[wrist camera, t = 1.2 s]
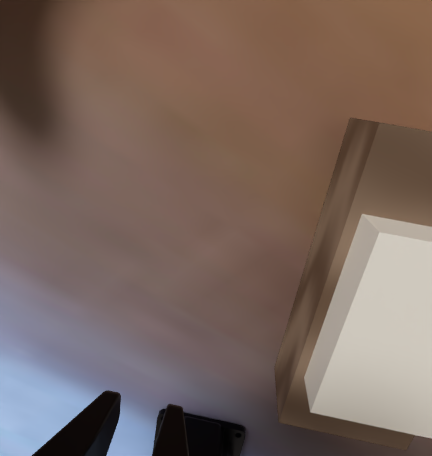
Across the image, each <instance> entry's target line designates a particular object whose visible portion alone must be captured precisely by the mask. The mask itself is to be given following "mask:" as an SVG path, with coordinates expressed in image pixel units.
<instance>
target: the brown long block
mask: <svg viewBox="0 0 432 456" xmlns="http://www.w3.org/2000/svg"><path fill="white" fill-rule="evenodd" d="M362 214H365V215H371V216H376V217H381V218H387V219H392V220H397V221H403V222H408V223H413V224H419V225H424V226H429V227H432V132H430V131H425V130H419V129H413V128H408V127H402V126H396V125H390V124H385V123H379V122H373V121H367V120H361V119H355V118H350V119H349V123H348V126H347V129H346V133H345V136H344V139H343V143H342V146H341V149H340V153H339V156H338V159H337V162H336V166H335V169H334V172H333V176H332V179H331V182H330V186H329V189H328V192H327V196H326V199H325V202H324V205H323V209H322V212H321V215H320V219H319V222H318V225H317V229H316V232H315V235H314V239H313V242H312V245H311V248H310V252H309V255H308V258H307V262H306V265H305V268H304V272H303V275H302V278H301V282H300V285H299V288H298V291H297V295H296V298H295V301H294V305H293V308H292V311H291V315H290V318H289V321H288V325H287V328H286V331H285V334H284V338H283V341H282V344H281V348H280V351H279V354H278V358H277V361H276V364H275V381H276V395H277V409H278V422H279V423H283V424H287V425H292V426H296V427H301V428H305V429H310V430H315V431H319V432H324V433H328V434H333V435H337V436H342V437H347V438H351V439H356V440H360V441H365V442H370V443H374V444H379V445H383V446H388V447H392V448H397V449H402V450H407V448H408V447H409V445H410V443H411V441H412V440H413V438H414V436H415V435H413V434H408V433H404V432H399V431H394V430H390V429H385V428H380V427H376V426H371V425H367V424H362V423H357V422H353V421H348V420H343V419H339V418H334V417H329V416H325V415H320V414H316V413H311V412H310V408H309V402H308V397H307V391H306V385H305V380H304V376H305V374H306V371H307V368H308V365H309V362H310V359H311V357H312V354H313V351H314V348H315V345H316V343H317V340H318V337H319V334H320V331H321V328H322V326H323V323H324V320H325V317H326V314H327V311H328V309H329V306H330V303H331V300H332V297H333V294H334V292H335V289H336V286H337V283H338V280H339V277H340V275H341V272H342V269H343V266H344V263H345V260H346V258H347V255H348V252H349V249H350V246H351V243H352V241H353V238H354V235H355V232H356V229H357V226H358V224H359V221H360V218H361V215H362Z"/></svg>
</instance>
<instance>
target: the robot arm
mask: <svg viewBox="0 0 432 456" xmlns="http://www.w3.org/2000/svg"><path fill="white" fill-rule="evenodd" d="M120 402H121V395H120V393H118V392H113V391H105V392H103V393H102V394H101V395H100V396H99V397H97V398H96V399H95V400H94V401H93V402H92V403H91V404H90V405H88V406H87V407H86V408H85V409H84V410H83V411H82V412H81V413H79V414H78V415H77V416H76V417H75V418H74V419H73V420H71V421H70V422H69V423H68V424H67V425H66V426H65V427H64V428H62V429H61V430H60V431H59V432H58V433H57V434H56V435H55V436H53V437H52V438H51V439H50V440H49V441H48V442H47V443H46V444H44V445H43V446H42V447H41V448H40V449H39V450H38V451H36V452H35V453H34V454H33V455H32V456H106V455H107V452H108V449H109V446H110V443H111V440H112V438H113V435H114V432H115V429H116V426H117V423H118V420H119V415H120ZM244 439H245V428H244V427H242V426H240V425H236V424H231V423H227V422H222V421H218V420H213V419H208V418H204V417H199V416H195V415H190V414H186V413H183V408H182V407H181V406H177V405H173V404H169V405H168V406H167V408H166V409H162V410H160V411H159V414H158V418H157V425H156V433H155V440H154V448H153V454H152V456H240V453H241V449H242V446H243V442H244Z"/></svg>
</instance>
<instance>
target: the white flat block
mask: <svg viewBox="0 0 432 456" xmlns="http://www.w3.org/2000/svg"><path fill="white" fill-rule="evenodd" d="M304 380H305V385H306V391H307V397H308V402H309V408H310V412H311V413H316V414H320V415H325V416H329V417H334V418H339V419H343V420H348V421H353V422H357V423H362V424H367V425H371V426H376V427H380V428H385V429H390V430H394V431H399V432H404V433H408V434H413V435H417V436H422V437H427V438H431V439H432V227H429V226H424V225H419V224H413V223H408V222H403V221H397V220H392V219H387V218H381V217H376V216H371V215H365V214H362V215H361V218H360V221H359V224H358V226H357V229H356V232H355V235H354V238H353V241H352V243H351V246H350V249H349V252H348V255H347V258H346V260H345V263H344V266H343V269H342V272H341V275H340V277H339V280H338V283H337V286H336V289H335V292H334V294H333V297H332V300H331V303H330V306H329V309H328V311H327V314H326V317H325V320H324V323H323V326H322V328H321V331H320V334H319V337H318V340H317V343H316V345H315V348H314V351H313V354H312V357H311V359H310V362H309V365H308V368H307V371H306V374H305V376H304Z"/></svg>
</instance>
